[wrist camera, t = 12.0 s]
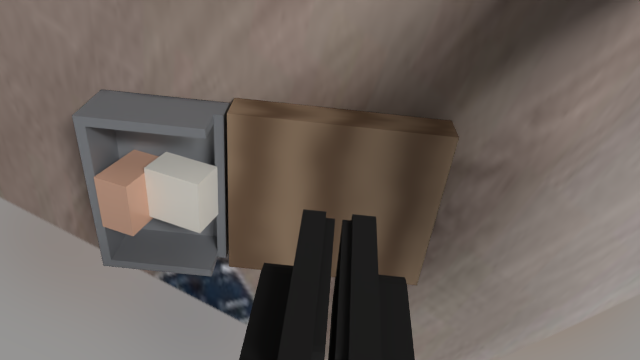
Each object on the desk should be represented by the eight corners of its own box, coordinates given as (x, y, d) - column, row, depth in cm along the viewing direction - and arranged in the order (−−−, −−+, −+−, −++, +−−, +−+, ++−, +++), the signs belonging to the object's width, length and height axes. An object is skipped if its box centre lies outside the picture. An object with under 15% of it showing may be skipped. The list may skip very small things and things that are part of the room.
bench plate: (451, 120, 39) (459, 137, 37) (412, 263, 48) (416, 285, 46) (234, 97, 39) (226, 113, 37) (235, 245, 48) (229, 266, 45)
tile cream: (217, 166, 40) (197, 184, 37) (218, 214, 43) (200, 233, 40) (166, 151, 41) (143, 167, 39) (170, 198, 44) (149, 216, 41)
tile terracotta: (125, 186, 37) (93, 177, 38) (133, 236, 40) (102, 226, 40) (163, 157, 41) (134, 149, 42) (167, 204, 44) (139, 195, 44)
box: (229, 103, 39) (215, 130, 35) (231, 241, 47) (220, 277, 43) (101, 89, 39) (71, 115, 35) (124, 230, 47) (103, 265, 43)
